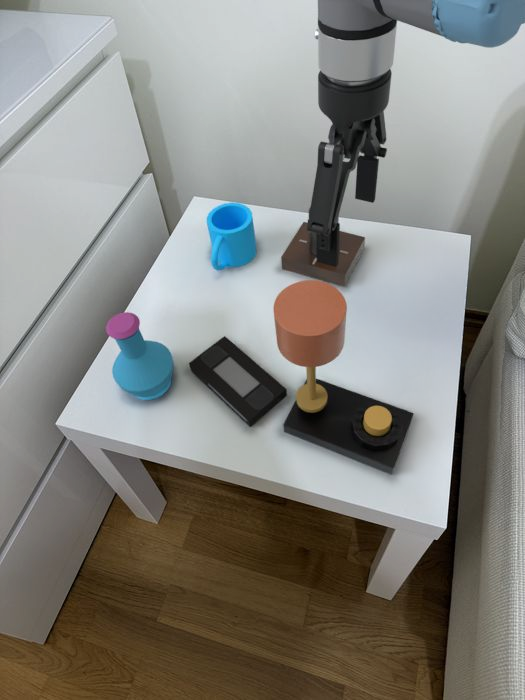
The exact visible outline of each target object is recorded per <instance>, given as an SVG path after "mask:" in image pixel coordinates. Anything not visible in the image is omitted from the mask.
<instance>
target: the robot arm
mask: <svg viewBox="0 0 525 700" xmlns="http://www.w3.org/2000/svg"><path fill="white" fill-rule="evenodd" d="M398 22H400V23H403V24H407V25H408V26H412V27H415V28H417V29H420V30H423V31H426V32H429V33H432V34H434V35H438V36H441V37H443V38H444V39H446V40H448V41H450V42H453V43H456V42H457V43H458V44H469V45H473V46H478V47H483V48H491V49H493V48H497V47H500V46H502V45H505V44H506V43H508V42H509V41H510V40H512V39H513V38H514V37H515V36H516V35H517V34H518V32H519V30H520V28H521V26H522V25H523V24H525V0H317V28H316V30H315V32H314V38H315V40H317V53H318V54H317V56H318V59H317V61H318V63H317V64H318V69H319V72H318V75H317V92H318V93H317V103H318V107H319V111H321V113H322V114H323V115H324V116H325V117H327V118H328V119H329V120H330V122H331V123H332V124H331V125H330V128H329V131H328V134H327V135H328V136H327V138H328V142H326V141H320V142H319V144H318V147H317V166H316V172H315V178H314V183H313V189H312V196H311V201H310V202H311V203H310V207H311V208H310V207H309V208H310V214H309V213H308V218H307V223H308V225H307V231H309V232H313V233H316V240H317V262H320V263H324V264H327V265H331V266H334V267H337V265H338V263H339V232H340V231H341V230H340V227H341V224H340V222H339V223H337V220H338V216H339V217H340V211H341V208H342V204H343V201H344V197H345V192H346V189H347V185H348V181H349V178H350V174H351V172H353V171H354V170H356V174H355V175H356V176H355V177H356V178H355V195H354V199H355V200H358V201H364V202H367V203H372V204H374V202H375V201H376V194H377V183H378V173H379V165H380V164H379V163H380V158H386V156H387V152H388V148H386V147H382V146H381V145H385V144H386V142H387V129H386V122H385V112H384V111H385V110H386V109H387V107H388V105H389V101H390V93H391V83H392V67H393V65H394V58H395V48H396V39H397V37H396V36H397V28H398V27H397V26H398ZM362 154H363V155H362ZM378 157H380V158H378ZM344 159H347V160H349V161H344Z"/></svg>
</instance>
